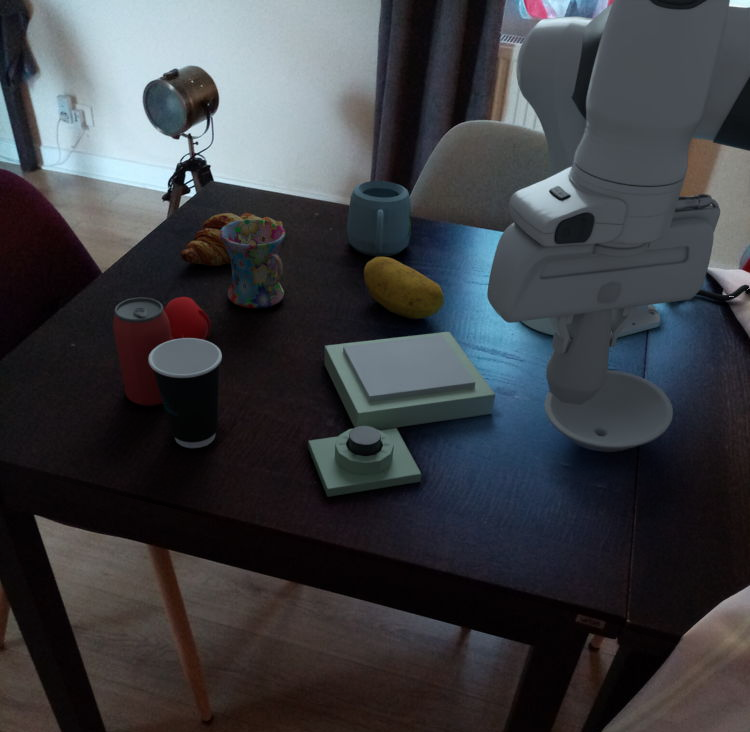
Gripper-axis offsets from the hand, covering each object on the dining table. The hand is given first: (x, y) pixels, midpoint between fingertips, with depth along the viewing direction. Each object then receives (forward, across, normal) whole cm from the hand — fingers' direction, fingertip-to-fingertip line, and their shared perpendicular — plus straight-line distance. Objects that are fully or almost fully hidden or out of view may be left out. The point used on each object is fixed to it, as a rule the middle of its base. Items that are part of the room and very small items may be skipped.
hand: (582, 347), depth 74 cm
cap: (+20, +33, -44) cm, 59 cm away
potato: (+21, +1, -45) cm, 50 cm away
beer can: (+20, +39, -32) cm, 54 cm away
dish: (+21, -13, -9) cm, 26 cm away
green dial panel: (+20, +17, -12) cm, 29 cm away
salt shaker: (+5, 0, 0) cm, 5 cm away
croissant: (+21, +22, -71) cm, 77 cm away
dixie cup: (+20, +35, -22) cm, 46 cm away
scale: (+20, +7, -26) cm, 33 cm away
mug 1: (+21, +21, -53) cm, 60 cm away
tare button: (+17, +17, -12) cm, 27 cm away
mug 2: (+21, -2, -66) cm, 70 cm away
